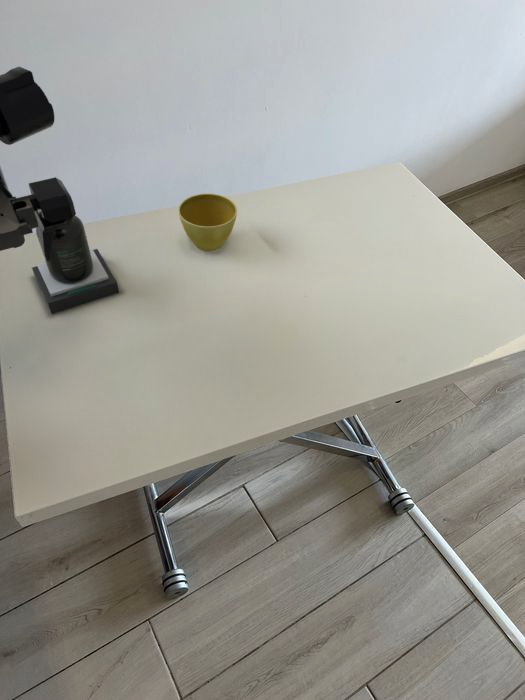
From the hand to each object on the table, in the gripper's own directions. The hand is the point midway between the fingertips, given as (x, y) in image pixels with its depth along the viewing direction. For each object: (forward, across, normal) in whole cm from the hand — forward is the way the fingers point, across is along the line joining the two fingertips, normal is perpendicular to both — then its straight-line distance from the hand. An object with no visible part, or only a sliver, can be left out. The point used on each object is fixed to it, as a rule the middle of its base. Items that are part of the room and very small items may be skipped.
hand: (12, 269), depth 70 cm
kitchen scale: (+13, +8, +8) cm, 18 cm away
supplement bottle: (+10, +8, +9) cm, 16 cm away
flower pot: (+13, +33, +9) cm, 37 cm away
